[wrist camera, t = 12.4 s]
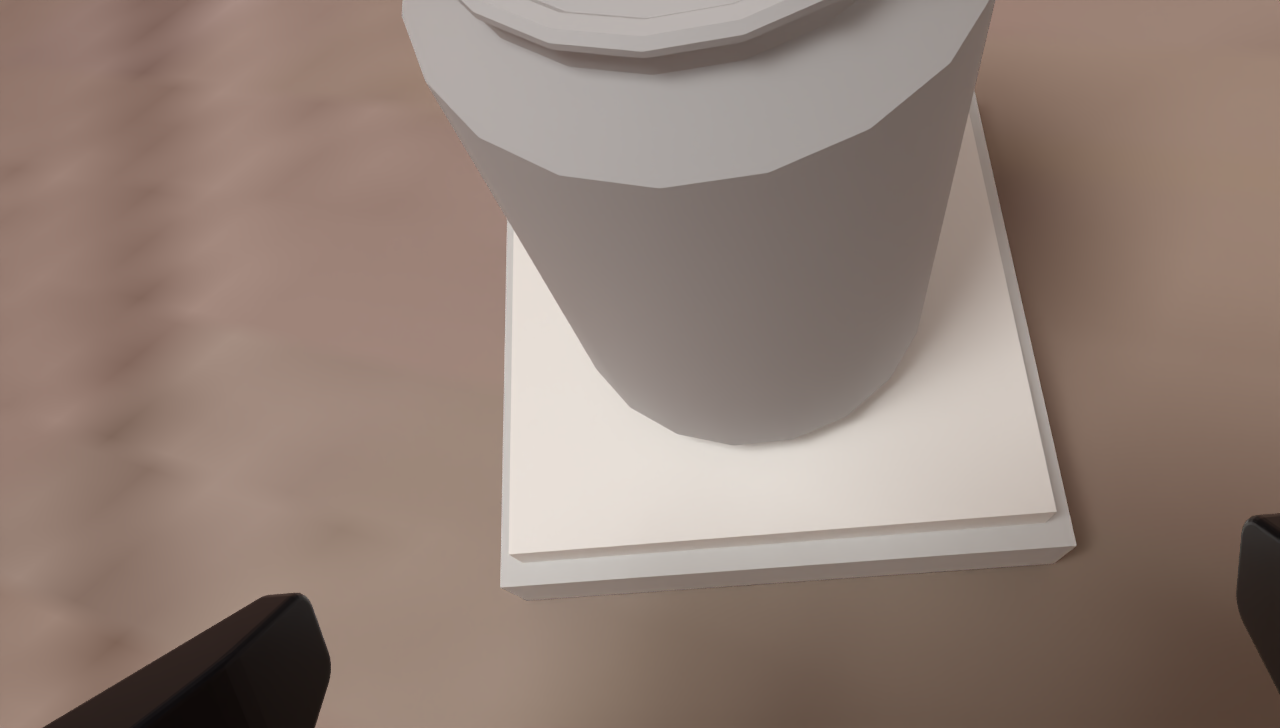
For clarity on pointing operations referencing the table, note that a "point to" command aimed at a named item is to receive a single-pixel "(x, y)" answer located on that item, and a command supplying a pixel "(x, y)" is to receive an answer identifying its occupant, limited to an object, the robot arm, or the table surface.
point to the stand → (791, 449)
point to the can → (719, 184)
